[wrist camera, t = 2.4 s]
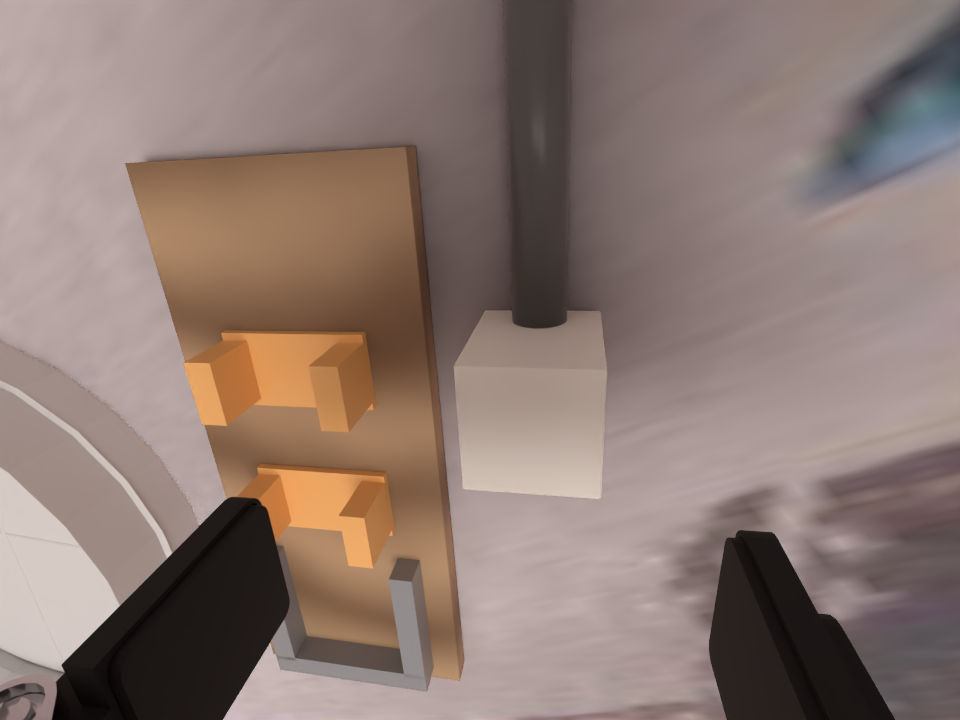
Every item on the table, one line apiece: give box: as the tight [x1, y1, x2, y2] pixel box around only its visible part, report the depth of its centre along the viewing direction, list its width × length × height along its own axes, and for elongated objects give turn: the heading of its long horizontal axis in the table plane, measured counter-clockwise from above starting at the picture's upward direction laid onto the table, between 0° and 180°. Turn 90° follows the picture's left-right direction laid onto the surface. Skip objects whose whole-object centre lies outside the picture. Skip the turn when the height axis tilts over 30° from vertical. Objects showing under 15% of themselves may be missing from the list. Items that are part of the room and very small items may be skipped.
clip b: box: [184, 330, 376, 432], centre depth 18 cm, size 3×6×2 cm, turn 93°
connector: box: [453, 0, 607, 499], centre depth 14 cm, size 17×4×5 cm, turn 3°
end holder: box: [272, 546, 434, 692], centre depth 23 cm, size 7×8×1 cm
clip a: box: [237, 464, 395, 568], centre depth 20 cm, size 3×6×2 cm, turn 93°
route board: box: [125, 146, 464, 681], centre depth 21 cm, size 24×10×1 cm, turn 3°
